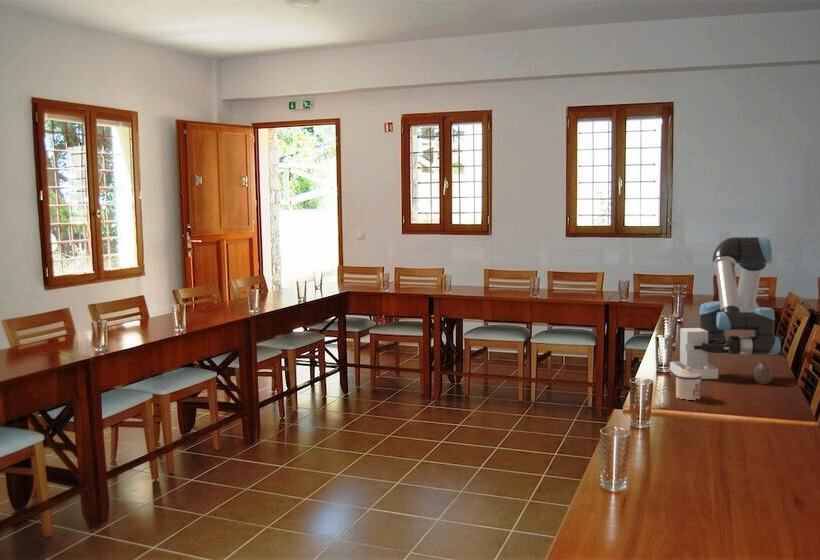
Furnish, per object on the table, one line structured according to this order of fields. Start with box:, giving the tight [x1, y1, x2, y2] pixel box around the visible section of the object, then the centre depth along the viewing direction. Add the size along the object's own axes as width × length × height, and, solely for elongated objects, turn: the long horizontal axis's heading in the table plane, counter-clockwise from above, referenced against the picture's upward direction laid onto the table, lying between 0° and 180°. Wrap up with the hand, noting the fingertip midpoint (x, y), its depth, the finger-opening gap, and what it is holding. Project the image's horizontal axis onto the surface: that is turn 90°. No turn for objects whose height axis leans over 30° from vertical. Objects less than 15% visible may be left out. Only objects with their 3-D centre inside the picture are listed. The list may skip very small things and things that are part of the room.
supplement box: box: [679, 327, 709, 366], centre depth 313 cm, size 9×9×15 cm
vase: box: [753, 360, 773, 385], centre depth 298 cm, size 7×7×9 cm
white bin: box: [669, 361, 719, 380], centre depth 315 cm, size 15×15×4 cm
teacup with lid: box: [675, 367, 702, 401], centre depth 281 cm, size 12×9×12 cm
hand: (683, 344), depth 314 cm, fingers closed on supplement box, 10 cm apart
